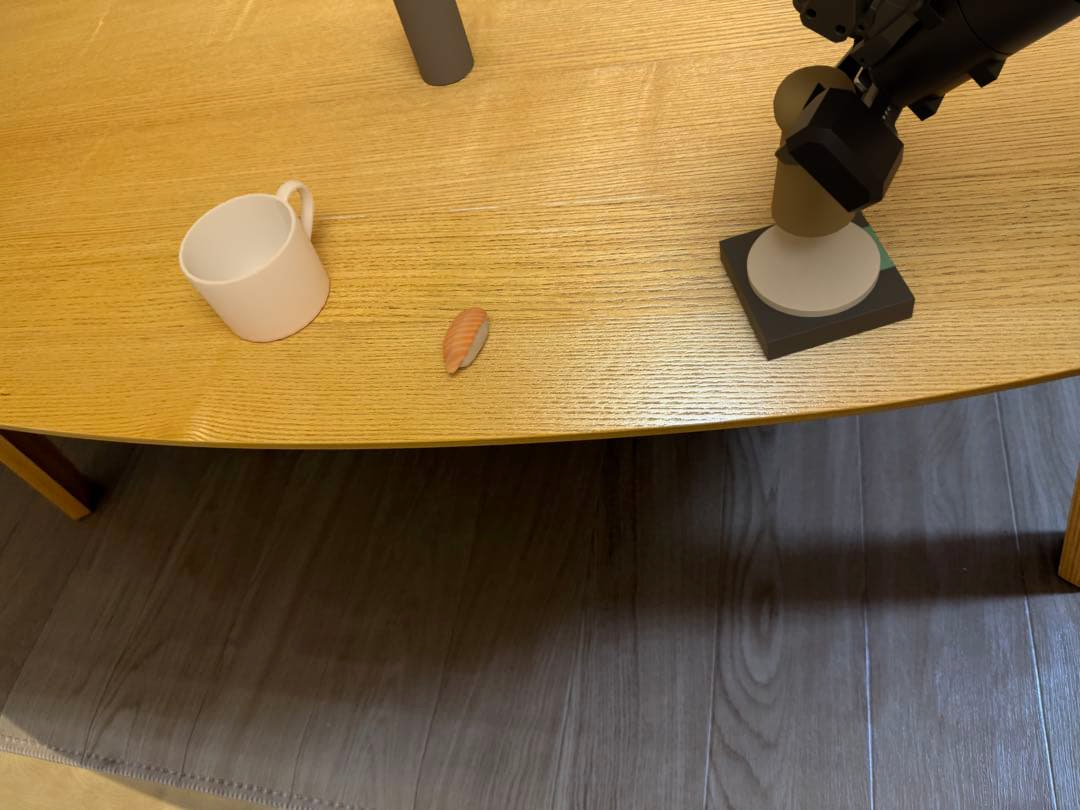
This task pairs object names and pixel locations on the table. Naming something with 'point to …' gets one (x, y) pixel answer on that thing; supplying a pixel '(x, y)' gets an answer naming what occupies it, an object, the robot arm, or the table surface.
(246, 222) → the mug
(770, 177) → the table surface
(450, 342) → the sushi
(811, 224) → the brown chess pawn
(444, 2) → the bottle
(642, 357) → the table surface
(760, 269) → the scale
